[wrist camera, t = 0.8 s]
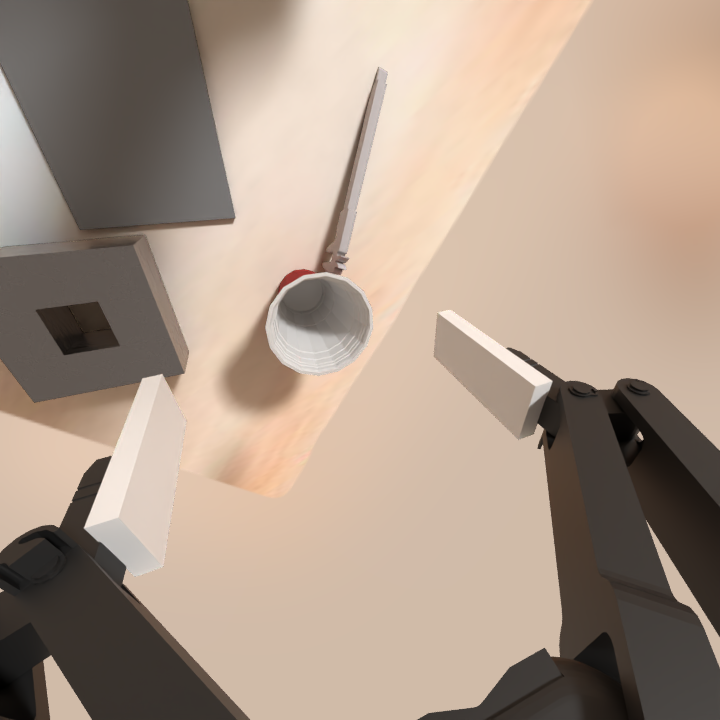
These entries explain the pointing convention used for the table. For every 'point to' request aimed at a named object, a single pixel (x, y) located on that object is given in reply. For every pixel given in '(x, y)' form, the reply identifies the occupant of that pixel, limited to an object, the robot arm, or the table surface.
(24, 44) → the key mat
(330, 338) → the plastic cup
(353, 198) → the caliper
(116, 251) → the block
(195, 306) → the table surface
